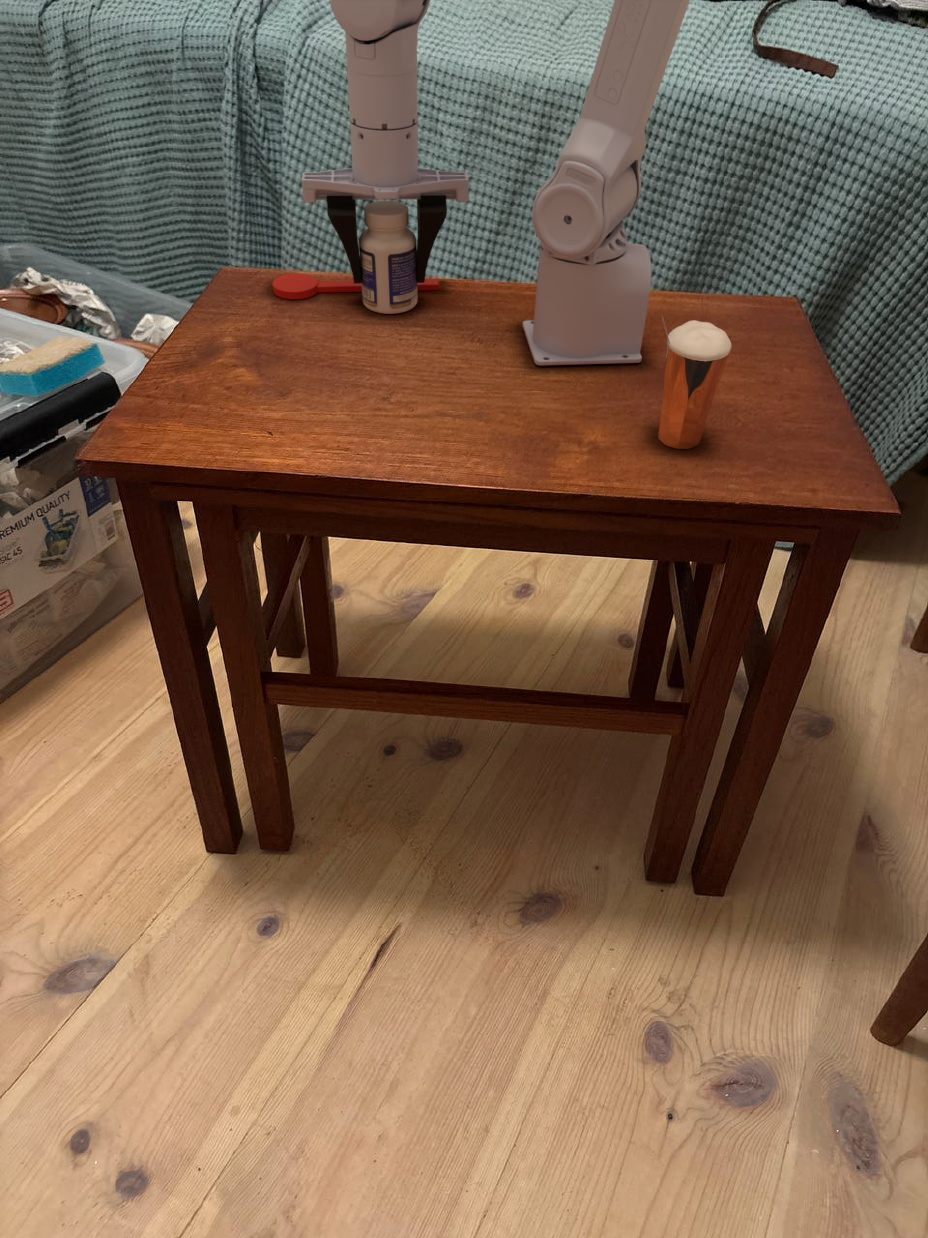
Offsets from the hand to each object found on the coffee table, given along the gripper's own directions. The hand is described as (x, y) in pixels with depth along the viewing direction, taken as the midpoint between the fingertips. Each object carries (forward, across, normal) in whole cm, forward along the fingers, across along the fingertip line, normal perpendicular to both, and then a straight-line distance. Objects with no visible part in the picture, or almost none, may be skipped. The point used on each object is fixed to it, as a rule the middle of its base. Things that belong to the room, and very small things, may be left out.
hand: (388, 278), depth 87 cm
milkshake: (+2, +21, -25) cm, 33 cm away
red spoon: (+2, -4, +3) cm, 6 cm away
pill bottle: (+3, 0, 0) cm, 3 cm away
